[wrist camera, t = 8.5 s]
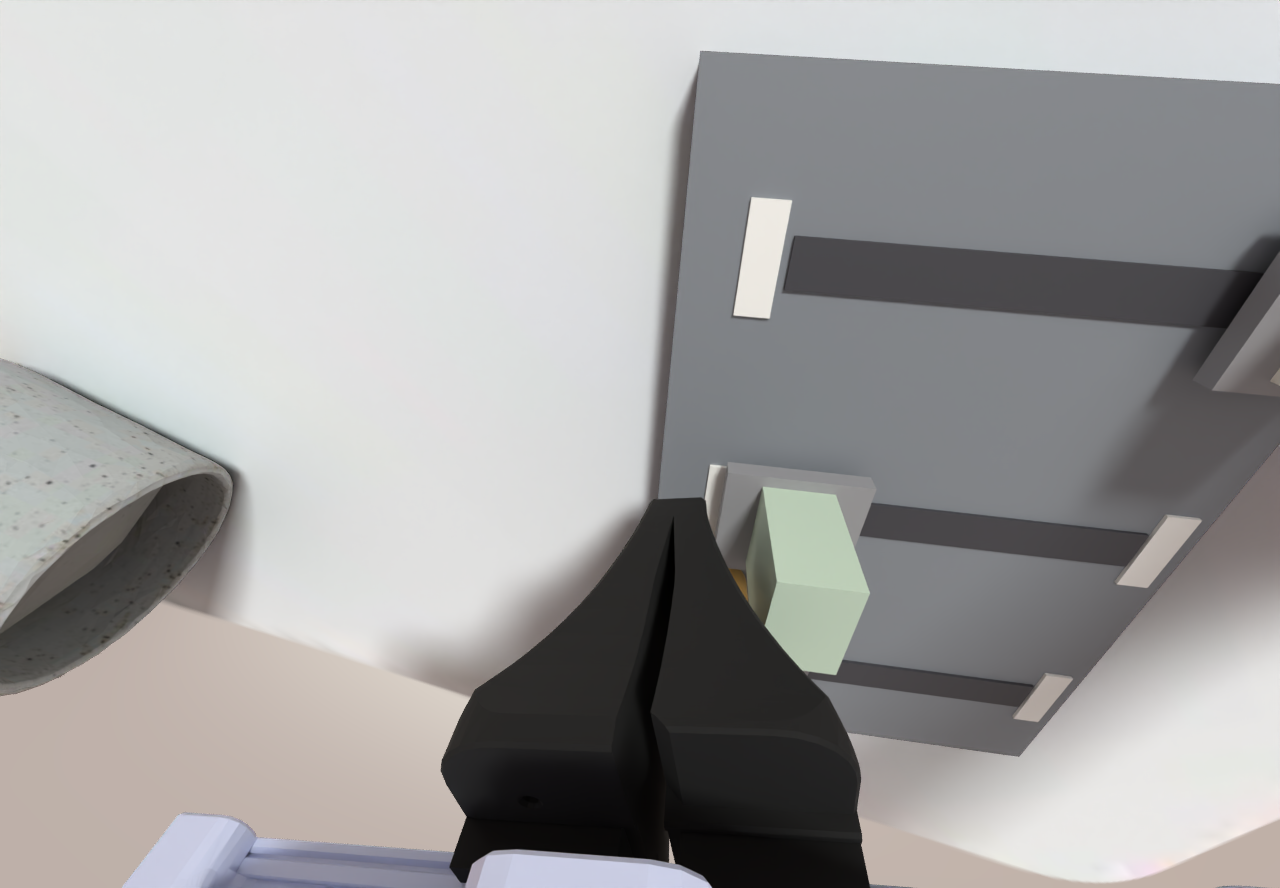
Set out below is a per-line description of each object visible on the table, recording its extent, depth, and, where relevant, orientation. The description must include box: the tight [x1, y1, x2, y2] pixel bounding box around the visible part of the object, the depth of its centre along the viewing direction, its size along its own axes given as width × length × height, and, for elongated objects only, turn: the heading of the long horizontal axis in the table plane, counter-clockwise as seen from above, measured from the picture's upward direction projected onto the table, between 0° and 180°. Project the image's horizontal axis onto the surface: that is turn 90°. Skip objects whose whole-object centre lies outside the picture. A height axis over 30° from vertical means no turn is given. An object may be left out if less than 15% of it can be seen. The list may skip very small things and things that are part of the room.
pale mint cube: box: [715, 462, 877, 675], centre depth 12 cm, size 4×3×4 cm
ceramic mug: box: [0, 358, 233, 696], centre depth 15 cm, size 10×8×7 cm
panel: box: [658, 51, 1280, 757], centre depth 14 cm, size 14×20×2 cm
